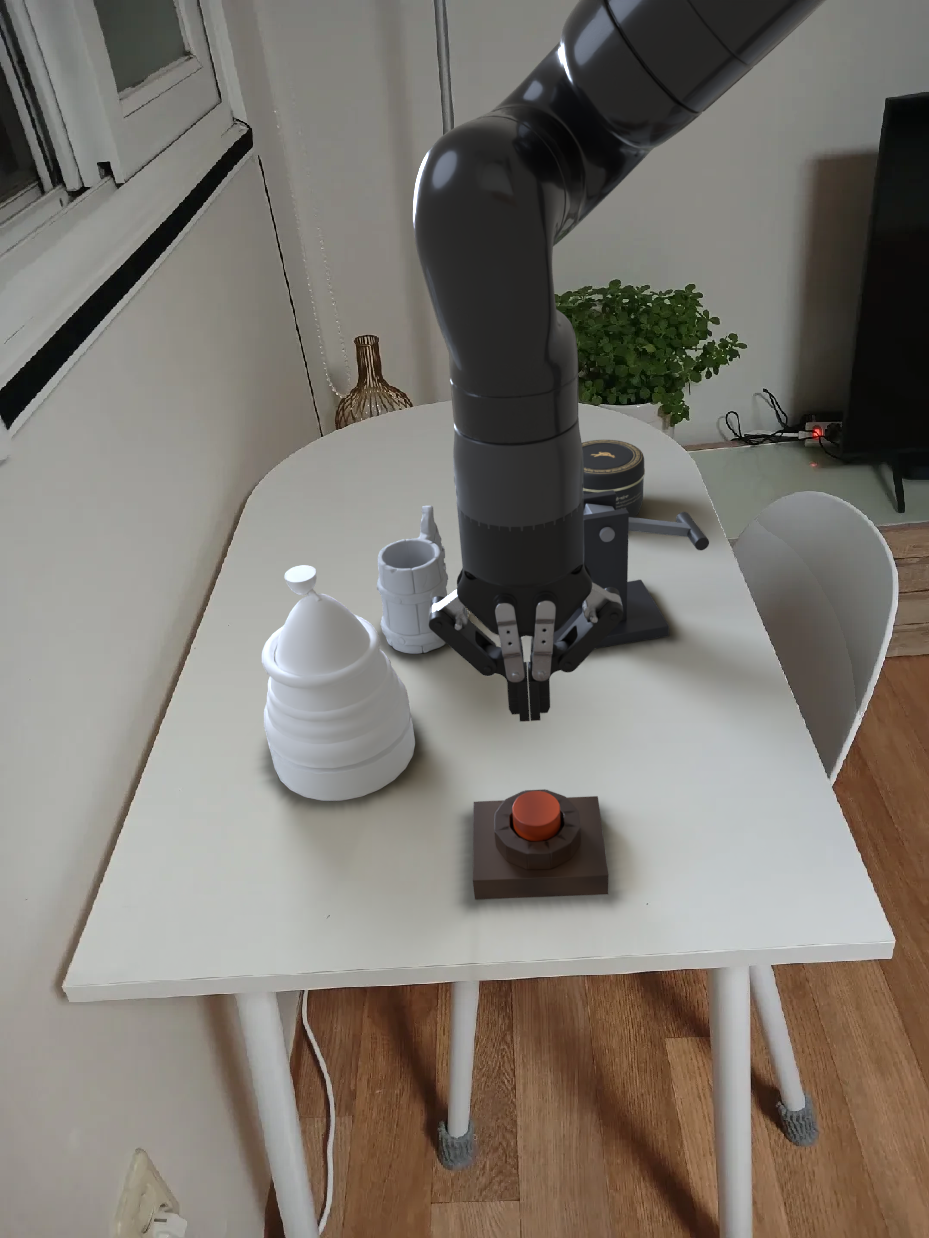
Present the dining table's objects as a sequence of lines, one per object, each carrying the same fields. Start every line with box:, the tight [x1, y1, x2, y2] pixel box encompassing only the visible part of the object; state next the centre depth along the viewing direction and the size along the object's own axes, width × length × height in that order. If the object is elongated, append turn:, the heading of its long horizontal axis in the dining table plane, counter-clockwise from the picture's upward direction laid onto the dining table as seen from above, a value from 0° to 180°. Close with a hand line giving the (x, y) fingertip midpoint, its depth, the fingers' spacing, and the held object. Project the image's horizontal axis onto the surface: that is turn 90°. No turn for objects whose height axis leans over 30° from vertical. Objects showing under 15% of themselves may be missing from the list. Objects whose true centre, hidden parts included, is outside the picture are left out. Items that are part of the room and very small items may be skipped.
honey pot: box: [261, 564, 416, 802], centre depth 81 cm, size 13×13×18 cm
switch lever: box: [584, 504, 710, 551], centre depth 94 cm, size 12×6×2 cm, turn 99°
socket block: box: [472, 788, 609, 901], centre depth 73 cm, size 10×8×4 cm
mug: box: [376, 505, 449, 655], centre depth 98 cm, size 8×12×12 cm, turn 162°
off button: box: [512, 791, 561, 842], centre depth 72 cm, size 4×4×2 cm
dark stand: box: [553, 490, 670, 649], centre depth 96 cm, size 12×9×14 cm
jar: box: [582, 439, 646, 518], centre depth 116 cm, size 10×10×8 cm
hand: (530, 713), depth 66 cm, fingers closed
